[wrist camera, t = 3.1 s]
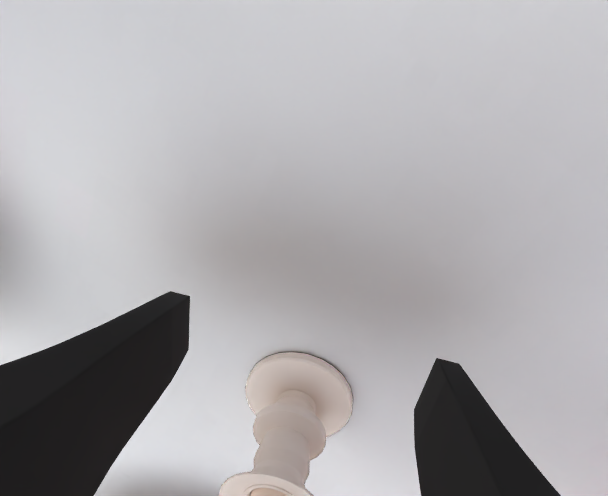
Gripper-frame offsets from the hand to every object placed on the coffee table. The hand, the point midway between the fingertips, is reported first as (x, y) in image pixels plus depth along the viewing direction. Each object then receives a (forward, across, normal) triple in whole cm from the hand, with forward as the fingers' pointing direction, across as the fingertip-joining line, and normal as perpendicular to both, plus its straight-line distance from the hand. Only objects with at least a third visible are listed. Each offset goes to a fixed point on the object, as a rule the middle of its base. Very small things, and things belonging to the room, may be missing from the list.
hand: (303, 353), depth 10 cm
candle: (+5, 0, +7) cm, 8 cm away
